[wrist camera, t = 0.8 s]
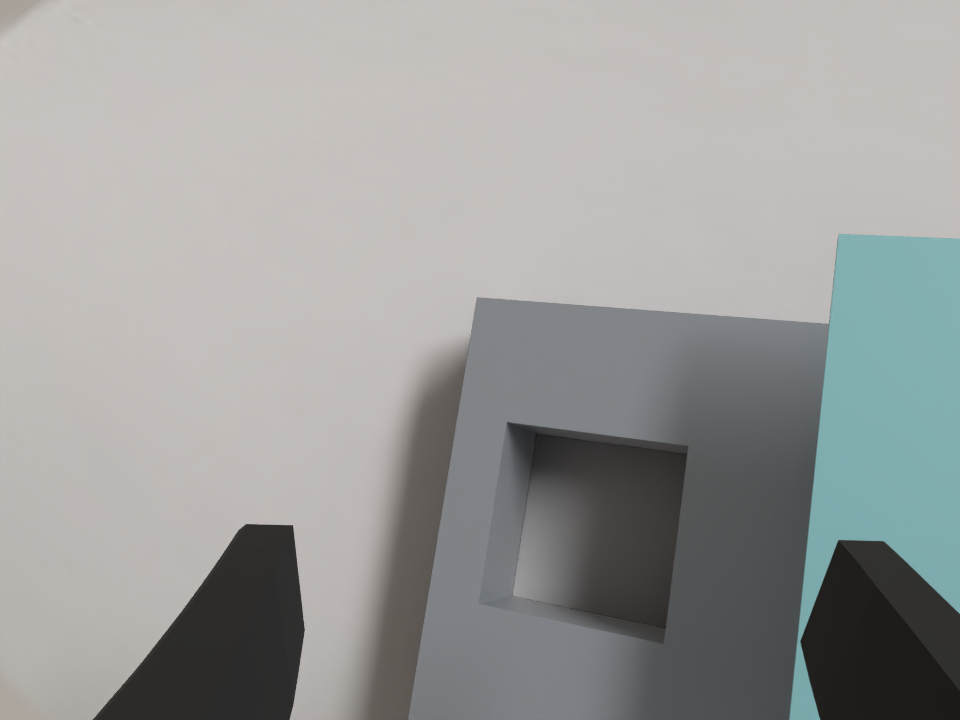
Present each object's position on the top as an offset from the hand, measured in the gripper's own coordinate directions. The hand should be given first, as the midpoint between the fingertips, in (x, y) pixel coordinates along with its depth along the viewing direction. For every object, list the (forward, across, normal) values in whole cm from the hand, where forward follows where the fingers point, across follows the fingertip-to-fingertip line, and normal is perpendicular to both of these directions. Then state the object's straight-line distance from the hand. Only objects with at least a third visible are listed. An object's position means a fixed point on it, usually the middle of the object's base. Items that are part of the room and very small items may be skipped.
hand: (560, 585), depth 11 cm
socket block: (+10, -5, +9) cm, 14 cm away
